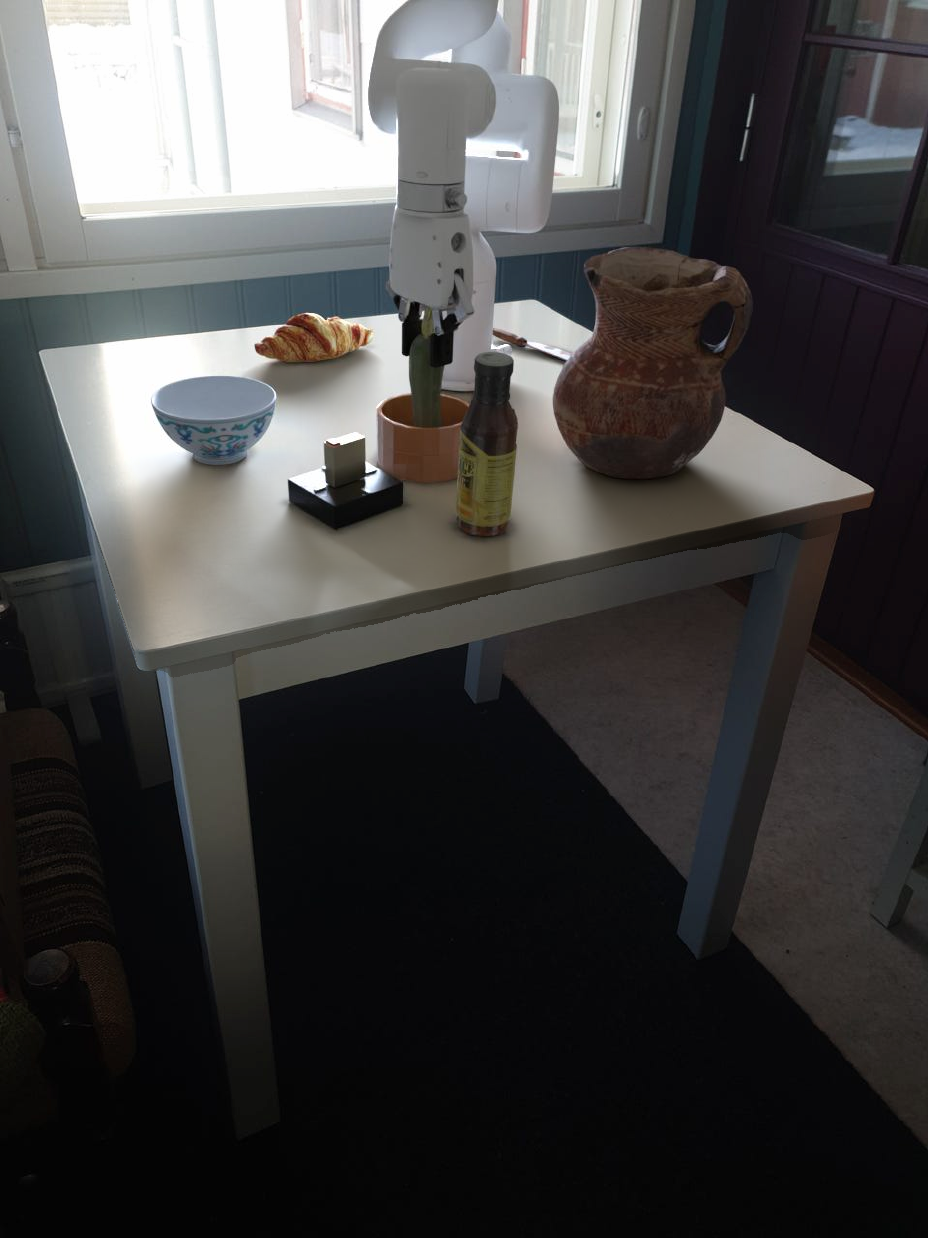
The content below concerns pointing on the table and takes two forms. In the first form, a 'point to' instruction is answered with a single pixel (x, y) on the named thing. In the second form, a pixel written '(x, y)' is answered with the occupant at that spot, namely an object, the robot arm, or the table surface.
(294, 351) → the croissant
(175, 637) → the table surface
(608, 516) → the table surface
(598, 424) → the jug
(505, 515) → the sauce bottle
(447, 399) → the terracotta pot
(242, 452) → the chinaware
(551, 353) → the kitchen knife
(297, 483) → the panel
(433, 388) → the vegetable
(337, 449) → the hob knob
